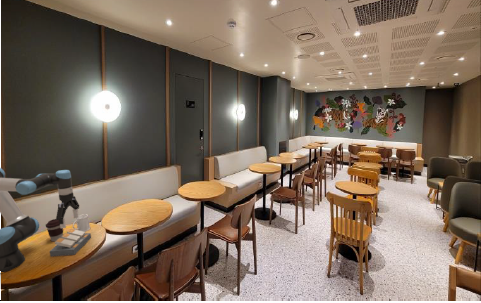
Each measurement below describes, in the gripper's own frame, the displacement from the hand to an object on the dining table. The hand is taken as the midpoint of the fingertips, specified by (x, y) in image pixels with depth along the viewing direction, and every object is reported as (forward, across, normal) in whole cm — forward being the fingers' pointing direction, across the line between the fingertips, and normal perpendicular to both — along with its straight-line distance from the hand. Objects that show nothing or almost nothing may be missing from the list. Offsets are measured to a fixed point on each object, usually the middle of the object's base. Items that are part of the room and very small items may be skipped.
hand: (69, 222), depth 148 cm
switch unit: (+21, +5, +4) cm, 22 cm away
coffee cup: (+22, +17, +22) cm, 35 cm away
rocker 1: (+14, -1, +4) cm, 15 cm away
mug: (+22, +27, +10) cm, 36 cm away
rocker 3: (+14, +11, +4) cm, 18 cm away
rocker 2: (+15, +5, +4) cm, 16 cm away
